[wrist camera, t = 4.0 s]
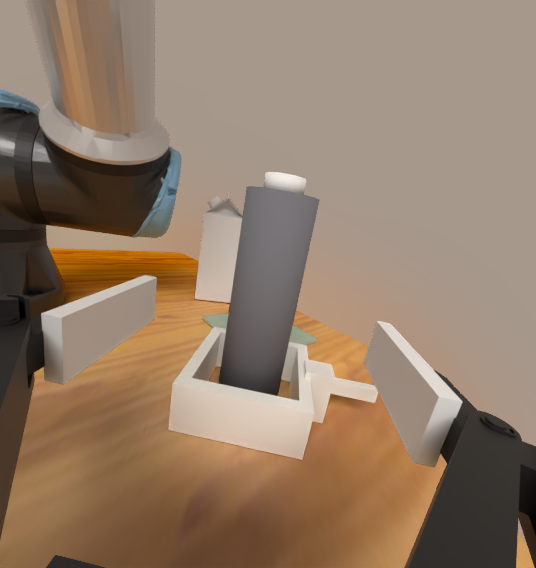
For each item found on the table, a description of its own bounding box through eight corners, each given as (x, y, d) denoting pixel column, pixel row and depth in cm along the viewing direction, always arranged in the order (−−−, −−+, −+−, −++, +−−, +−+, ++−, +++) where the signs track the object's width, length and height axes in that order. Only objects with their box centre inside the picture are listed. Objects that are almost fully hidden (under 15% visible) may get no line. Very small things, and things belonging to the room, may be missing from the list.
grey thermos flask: (205, 390, 24) (234, 168, 19) (252, 375, 28) (287, 183, 23) (237, 432, 20) (284, 166, 15) (287, 408, 24) (338, 186, 19)
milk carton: (233, 292, 54) (247, 196, 49) (234, 304, 47) (251, 195, 42) (198, 288, 52) (209, 189, 48) (194, 300, 46) (206, 186, 41)
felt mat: (202, 319, 39) (203, 316, 38) (265, 311, 46) (265, 308, 46) (249, 361, 30) (250, 357, 30) (316, 342, 38) (317, 339, 38)
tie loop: (168, 429, 19) (173, 375, 18) (209, 359, 29) (215, 321, 28) (384, 478, 18) (404, 425, 17) (353, 389, 28) (364, 351, 27)
